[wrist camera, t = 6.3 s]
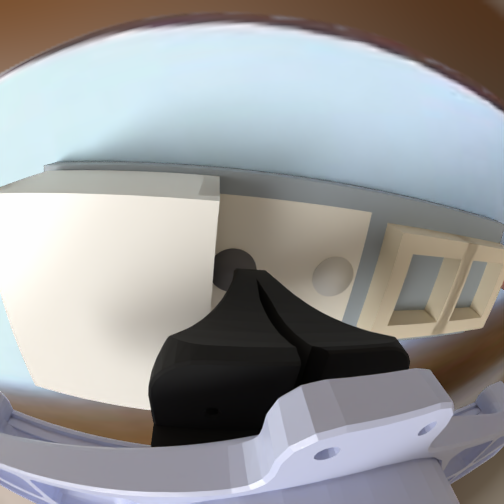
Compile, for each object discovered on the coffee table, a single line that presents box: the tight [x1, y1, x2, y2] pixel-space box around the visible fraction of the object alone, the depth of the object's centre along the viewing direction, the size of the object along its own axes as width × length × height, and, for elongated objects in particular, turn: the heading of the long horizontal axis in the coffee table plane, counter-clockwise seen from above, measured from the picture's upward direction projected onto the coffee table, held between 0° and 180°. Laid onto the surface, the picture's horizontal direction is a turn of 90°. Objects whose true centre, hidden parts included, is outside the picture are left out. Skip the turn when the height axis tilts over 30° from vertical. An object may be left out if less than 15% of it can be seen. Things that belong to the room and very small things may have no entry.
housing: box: [0, 170, 220, 410], centre depth 10 cm, size 8×9×5 cm
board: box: [44, 162, 504, 341], centre depth 14 cm, size 28×9×3 cm, turn 83°
